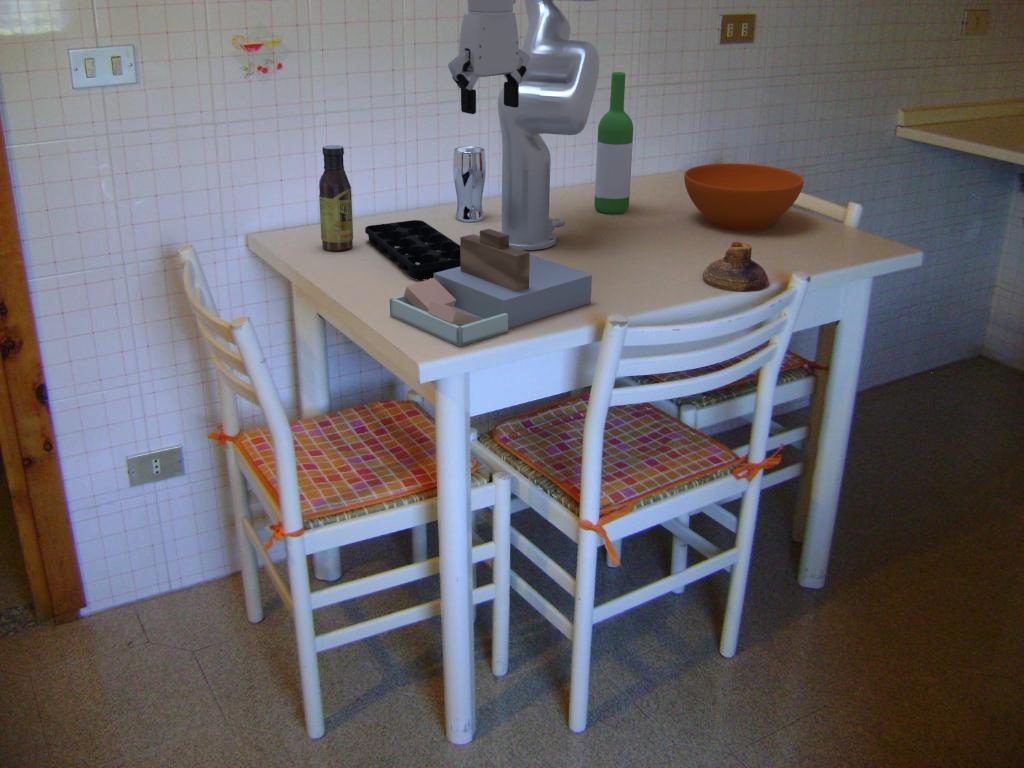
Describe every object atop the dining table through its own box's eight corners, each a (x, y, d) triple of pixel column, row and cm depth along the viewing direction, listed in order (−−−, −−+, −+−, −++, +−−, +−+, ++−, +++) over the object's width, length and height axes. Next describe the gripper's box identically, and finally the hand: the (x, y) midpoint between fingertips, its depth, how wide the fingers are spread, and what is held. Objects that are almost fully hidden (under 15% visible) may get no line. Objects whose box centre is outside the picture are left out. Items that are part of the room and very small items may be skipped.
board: (519, 277, 195) (520, 251, 193) (590, 302, 183) (591, 275, 181) (434, 301, 183) (433, 273, 181) (503, 330, 170) (503, 300, 168)
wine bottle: (619, 216, 234) (626, 76, 222) (587, 211, 238) (593, 73, 226) (634, 209, 240) (643, 72, 228) (604, 204, 244) (610, 69, 232)
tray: (437, 302, 182) (437, 285, 181) (507, 331, 170) (508, 314, 169) (390, 315, 176) (389, 298, 175) (459, 347, 164) (459, 328, 162)
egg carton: (422, 287, 190) (422, 267, 189) (339, 248, 212) (338, 229, 210) (500, 269, 200) (500, 250, 199) (414, 233, 222) (413, 216, 220)
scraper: (474, 267, 184) (473, 222, 180) (529, 287, 174) (530, 240, 171) (460, 271, 182) (460, 225, 179) (515, 291, 172) (516, 244, 169)
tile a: (430, 286, 180) (433, 277, 178) (453, 308, 177) (456, 299, 176) (403, 295, 176) (406, 286, 174) (426, 318, 173) (429, 309, 172)
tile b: (431, 300, 168) (427, 312, 168) (455, 310, 164) (451, 323, 164) (458, 308, 172) (454, 320, 173) (482, 318, 168) (478, 330, 169)
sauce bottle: (347, 253, 207) (342, 151, 199) (317, 251, 208) (310, 149, 200) (358, 244, 213) (353, 144, 205) (328, 241, 214) (323, 142, 206)
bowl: (822, 226, 229) (828, 180, 225) (739, 244, 216) (744, 195, 212) (738, 201, 248) (742, 158, 244) (657, 216, 235) (660, 171, 231)
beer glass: (491, 217, 233) (492, 148, 226) (473, 224, 227) (473, 154, 221) (465, 212, 236) (465, 144, 230) (447, 219, 231) (446, 150, 224)
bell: (749, 297, 187) (753, 257, 184) (690, 282, 194) (693, 244, 191) (779, 281, 195) (784, 243, 192) (721, 268, 202) (725, 231, 199)
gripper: (513, 0, 184) (512, 101, 191) (435, 5, 173) (437, 112, 180) (543, 3, 178) (541, 107, 186) (464, 9, 168) (465, 119, 175)
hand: (490, 109), depth 183 cm, fingers open, 9 cm apart
